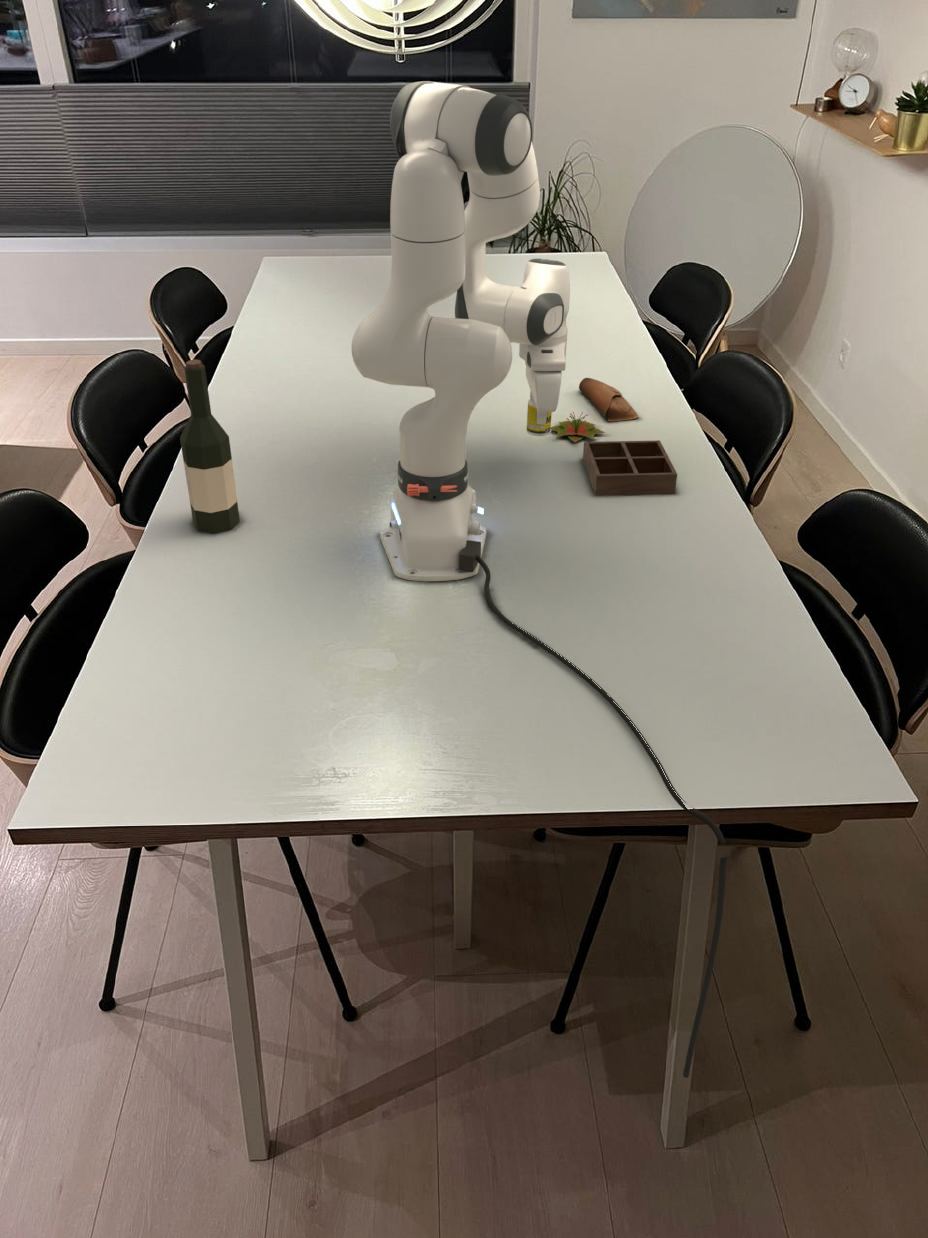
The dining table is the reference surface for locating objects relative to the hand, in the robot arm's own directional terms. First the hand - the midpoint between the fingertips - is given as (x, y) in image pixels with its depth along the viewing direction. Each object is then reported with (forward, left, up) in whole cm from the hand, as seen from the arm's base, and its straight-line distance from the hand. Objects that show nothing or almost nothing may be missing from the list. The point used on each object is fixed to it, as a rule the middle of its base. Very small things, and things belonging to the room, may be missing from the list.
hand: (539, 417), depth 204 cm
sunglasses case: (+30, -20, -11) cm, 38 cm away
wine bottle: (-21, +61, -11) cm, 65 cm away
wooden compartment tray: (-6, -17, -10) cm, 21 cm away
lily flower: (+15, -10, -11) cm, 21 cm away
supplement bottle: (0, 0, -3) cm, 3 cm away
